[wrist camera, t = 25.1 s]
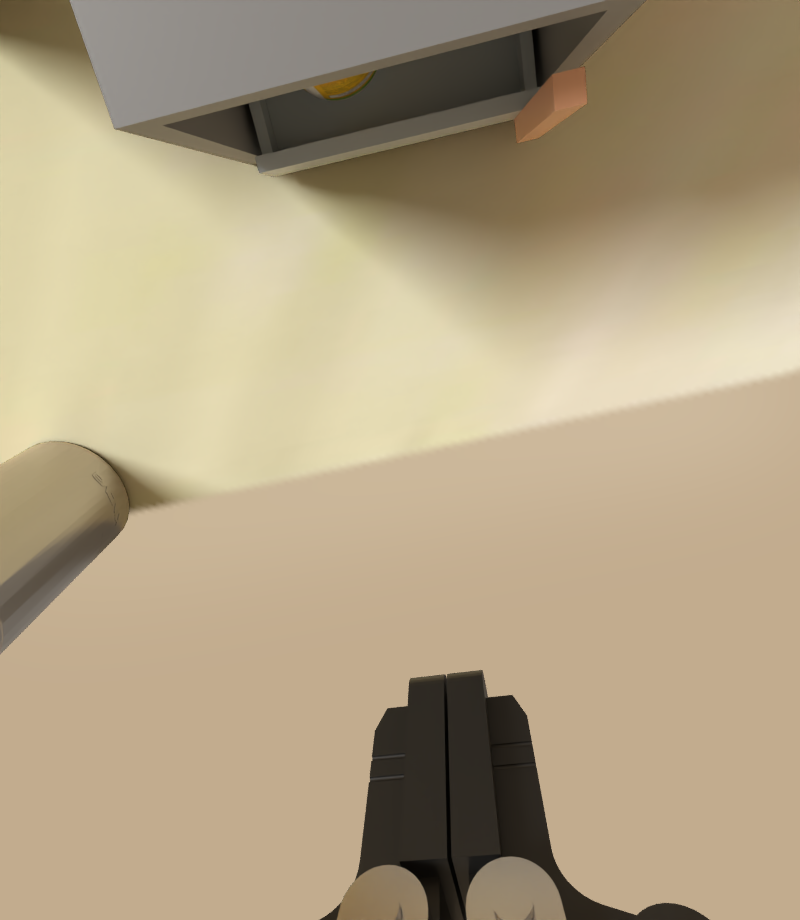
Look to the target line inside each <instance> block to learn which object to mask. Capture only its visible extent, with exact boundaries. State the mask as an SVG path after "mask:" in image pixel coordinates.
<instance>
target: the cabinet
mask: <svg viewBox="0 0 800 920" xmlns="http://www.w3.org/2000/svg"><path fill="white" fill-rule="evenodd" d="M645 1H646V0H70V3H71V6H72V9H73V12H74V15H75V18H76V20H77V23H78V26H79V29H80V32H81V35H82V38H83V40H84V43H85V46H86V49H87V52H88V55H89V58H90V60H91V63H92V66H93V69H94V72H95V75H96V78H97V80H98V83H99V86H100V89H101V92H102V95H103V98H104V100H105V103H106V106H107V109H108V112H109V115H110V118H111V120H112V123H113V126H114V129H117V130H120V131H124V132H128V133H132V134H136V135H140V136H143V137H147V138H151V139H155V140H159V141H163V142H166V143H170V144H174V145H178V146H182V147H186V148H189V149H193V150H197V151H201V152H205V153H209V154H212V155H216V156H220V157H224V158H228V159H232V160H235V161H239V162H243V163H247V164H251V165H255V164H256V160H255V157H256V156H260V155H262V152H261V148H260V144H259V141H258V137H257V133H256V129H255V125H254V122H253V118H252V114H251V110H250V107H249V103H251V102H255V101H259V100H263V99H267V98H270V97H274V96H278V95H282V94H286V93H290V92H294V91H297V90H301V89H305V88H309V87H313V86H317V85H321V84H324V83H328V82H332V81H336V80H340V79H344V78H348V77H351V76H355V75H359V74H363V73H367V72H371V71H375V70H378V69H382V68H386V67H390V66H394V65H398V64H402V63H405V62H409V61H413V60H417V59H421V58H425V57H429V56H432V55H436V54H440V53H444V52H448V51H452V50H455V49H459V48H463V47H467V46H471V45H475V44H479V43H482V42H486V41H490V40H494V39H498V38H502V37H506V36H509V35H513V34H517V33H521V32H525V31H529V30H532V38H533V49H534V60H535V71H536V82H537V87H541V86H543V85H544V83H545V82H546V81H547V80H548V79H549V77H550V76H551V75H552V74H556V73H560V72H564V71H568V70H572V69H576V68H579V67H580V66H581V65H582V64H583V63H584V62H585V61H586V60H587V59H588V58H589V57H590V56H591V55H592V54H593V53H594V52H595V51H596V50H597V49H598V48H599V47H600V46H601V45H602V44H603V43H604V42H605V41H606V40H607V39H608V38H609V37H610V36H611V35H612V34H613V33H614V32H615V31H616V30H617V29H618V28H619V27H620V26H621V25H622V24H623V23H624V22H625V21H626V20H627V19H628V18H629V17H630V16H631V15H632V14H633V13H634V12H635V11H636V10H637V9H638V8H639V7H640V6H641V5H642V4H643V3H644V2H645Z"/></svg>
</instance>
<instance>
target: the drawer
mask: <svg viewBox="0 0 800 920" xmlns="http://www.w3.org/2000/svg"><path fill="white" fill-rule="evenodd" d="M586 104H587V91H586V75H585V66H584V67H580V68H576V69H572V70H568V71H564V72H560V73H556V74H552V75H551V76H550V77H549V79H548V80H547V81H546V82H545V83H544V85H543V86H541V87H537V82H536V71H535V60H534V49H533V38H532V30H529V31H525V32H521V33H517V34H513V35H509V36H506V37H502V38H498V39H494V40H490V41H486V42H482V43H479V44H475V45H471V46H467V47H463V48H459V49H455V50H452V51H448V52H444V53H440V54H436V55H432V56H429V57H425V58H421V59H417V60H413V61H409V62H405V63H402V64H398V65H394V66H390V67H386V68H382V69H378V71H377V73H376V75H375V76H374V78H373V80H372V81H371V82H370V84H369V85H368V86H367V87H366V88H365V89H364V90H363V91H362V92H360V93H359V94H357V95H356V96H354V97H352V98H349V99H346V100H342V101H327V100H322V99H320V98H317V97H315V96H313V95H311V94H310V93H308V92H307V91H305V90H304V89H301V90H297V91H294V92H290V93H286V94H282V95H278V96H274V97H270V98H267V99H263V100H259V101H255V102H251V103H249V107H250V110H251V114H252V118H253V122H254V125H255V129H256V133H257V137H258V141H259V144H260V148H261V152H262V155H260V156H256V157H255V160H256V164H257V167H258V171H259V173H260V174H264V175H269V176H273V177H276V176H280V175H284V174H289V173H293V172H297V171H301V170H305V169H309V168H314V167H318V166H322V165H326V164H330V163H335V162H339V161H343V160H347V159H351V158H355V157H360V156H364V155H368V154H372V153H376V152H380V151H385V150H389V149H393V148H397V147H401V146H405V145H410V144H414V143H418V142H422V141H426V140H431V139H435V138H439V137H443V136H447V135H451V134H456V133H460V132H464V131H468V130H472V129H476V128H481V127H485V126H489V125H493V124H497V123H502V122H506V121H510V120H514V122H515V131H516V140H517V143H520V142H525V141H529V140H533V139H537V138H540V137H541V136H542V135H544V134H545V133H546V132H548V131H549V130H551V129H552V128H553V127H555V126H556V125H558V124H559V123H560V122H562V121H563V120H565V119H566V118H567V117H569V116H570V115H572V114H573V113H574V112H576V111H577V110H579V109H580V108H581V107H583V106H584V105H586Z"/></svg>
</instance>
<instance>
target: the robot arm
mask: <svg viewBox="0 0 800 920" xmlns="http://www.w3.org/2000/svg"><path fill="white" fill-rule="evenodd" d="M128 514H129V501H128V496H127V493H126V490H125V487H124V485H123V483H122V481H121V480H120V478H119V476H118V475H117V474H116V472H115V471H114V470H113V469H112V467H111V466H110V465H109V464H107V463H106V462H105V461H104V460H103V459H102V458H101V457H99V456H98V455H96V454H94V453H93V452H91V451H89V450H88V449H85V448H83V447H80V446H78V445H75V444H71V443H66V442H55V441H49V442H44V443H39V444H36V445H34V446H32V447H30V448H28V449H26V450H25V451H23V452H21V453H19V454H18V455H16V456H14V457H12V458H11V459H9V460H7V461H6V462H4V463H2V464H0V654H1V653H2V652H3V651H4V650H5V649H6V648H7V647H8V646H9V645H10V644H11V643H12V642H13V641H14V640H15V639H16V638H17V637H18V636H19V635H20V634H21V633H22V632H23V631H24V630H25V629H26V628H27V627H28V626H29V625H30V624H31V623H32V622H33V621H34V620H35V619H36V617H38V616H39V615H40V613H41V612H43V611H44V609H46V608H47V606H48V605H49V604H50V603H51V602H52V601H53V600H54V599H55V598H56V597H57V596H58V595H59V594H60V593H61V592H62V591H63V590H64V589H65V588H66V587H67V586H68V585H69V584H70V583H71V582H72V581H73V580H74V579H75V578H76V577H77V576H78V575H79V574H80V573H81V572H82V571H83V570H84V569H85V568H86V567H87V566H88V565H89V564H90V563H91V562H92V561H93V560H94V559H95V558H96V557H97V556H98V555H99V554H100V553H101V552H102V551H103V550H104V549H105V548H106V547H107V545H109V543H111V542H112V541H113V540H114V539H115V538H116V536H118V534H119V533H120V532H121V531H122V530H123V528H124V526H125V524H126V522H127V520H128ZM372 758H373V761H371V771H370V782H369V787H368V797H367V805H366V814H365V822H364V831H363V839H362V848H361V857H360V864H359V870H358V873H357V876H356V879H355V881H354V882H353V883H352V885H351V886H350V887H349V889H348V890H347V892H346V894H345V895H344V898H343V900H342V902H341V903H340V904H339V905H338V906H337V907H336V908H335V909H334V910H333V911H332V912H331V913H329V914H328V915H327V916H325V917H323V918H322V919H320V920H709V919H708V918H706V917H705V916H704V915H701V914H700V913H698V912H697V911H695V910H693V909H690V908H688V907H686V906H682V905H678V904H671V903H662V904H656V905H652V906H650V907H647V908H646V909H644V910H642V911H641V912H640V913H639V914H638V915H634V914H631V913H627V912H624V911H621V910H618V909H615V908H611V907H608V906H605V905H602V904H599V903H597V902H594V901H592V900H590V899H589V898H587V897H585V896H584V895H582V894H581V893H580V892H578V891H577V890H576V889H575V888H574V887H573V886H572V885H571V884H570V883H569V882H568V881H567V880H566V879H565V877H564V876H563V875H562V873H561V872H560V870H559V868H558V866H557V864H556V862H555V860H554V857H553V854H552V849H551V845H550V840H549V834H548V829H547V823H546V818H545V812H544V807H543V801H542V796H541V791H540V784H539V779H538V773H537V768H536V763H535V757H534V752H533V746H532V741H531V735H530V730H529V724H528V719H527V715H526V714H525V712H524V711H523V709H522V708H521V707H520V705H519V704H518V702H517V701H516V700H515V698H514V697H513V696H512V695H508V696H498V697H489V698H488V696H487V690H486V685H485V680H484V675H483V671H482V670H479V671H470V672H461V673H452V674H447V678H446V675H436V676H428V677H418V678H411V679H410V681H409V693H408V706H406V707H397V708H388V709H387V710H386V712H385V714H384V716H383V718H382V719H381V721H380V723H379V725H378V727H377V728H376V730H375V736H374V744H373V753H372Z"/></svg>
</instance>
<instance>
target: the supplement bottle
mask: <svg viewBox="0 0 800 920" xmlns="http://www.w3.org/2000/svg"><path fill="white" fill-rule="evenodd" d="M377 71H378V70H375V71H371V72H367V73H363V74H359V75H355V76H351V77H348V78H344V79H340V80H336V81H332V82H328V83H324V84H321V85H317V86H313V87H309V88H305V89H304V90H305V91H307V92H308V93H310V94H311V95H313V96H315V97H317V98H320V99H322V100H327V101H342V100H346V99H349V98H352V97H354V96H356V95H357V94H359V93H360V92H362V91H363V90H364V89H365V88H366V87H367V86H368V85H369V84H370V82H371V81H372V80H373V78H374V76H375V75H376V73H377Z"/></svg>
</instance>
